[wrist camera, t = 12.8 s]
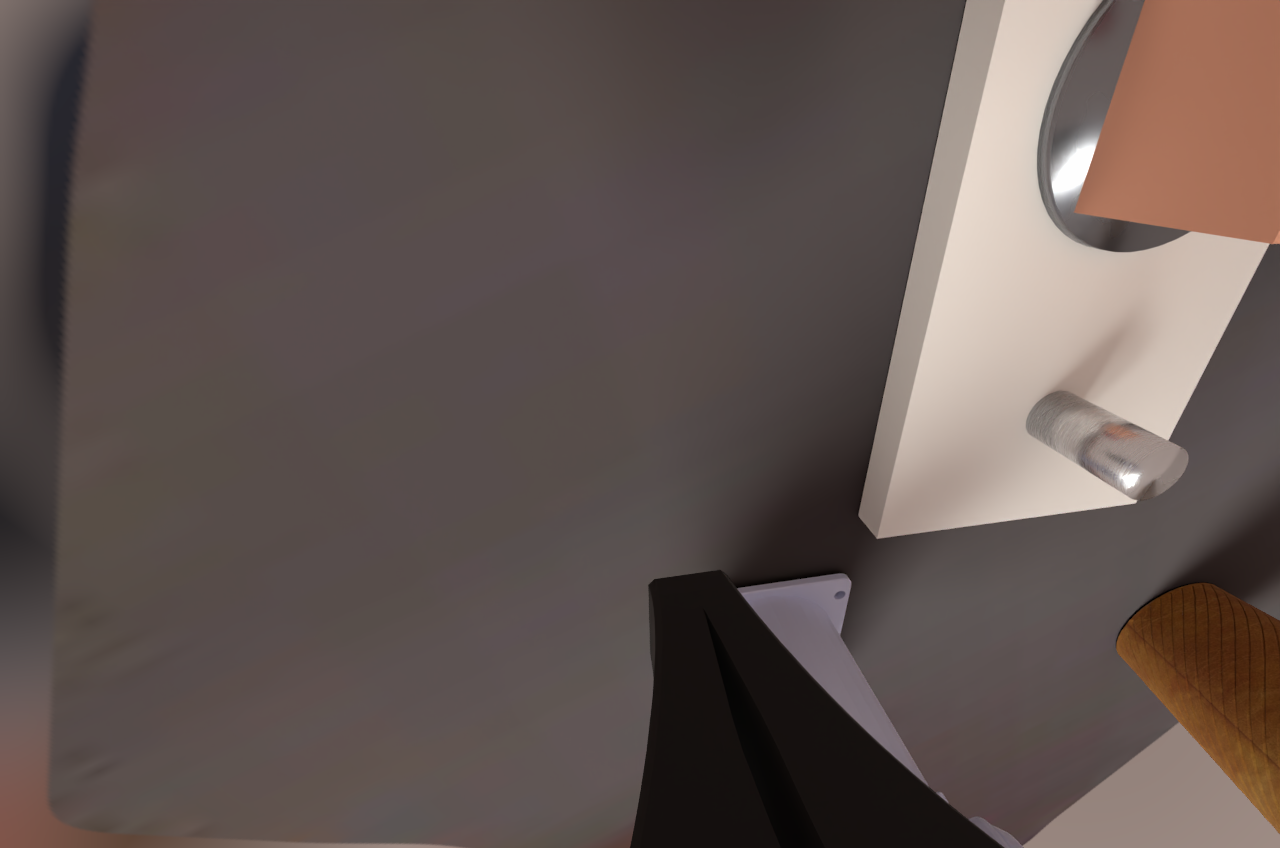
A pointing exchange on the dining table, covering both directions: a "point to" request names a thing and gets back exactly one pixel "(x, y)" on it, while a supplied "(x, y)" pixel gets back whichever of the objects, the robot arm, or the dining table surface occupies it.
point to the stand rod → (1107, 445)
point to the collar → (1194, 122)
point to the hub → (1089, 131)
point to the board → (1027, 305)
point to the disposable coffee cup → (1216, 680)
